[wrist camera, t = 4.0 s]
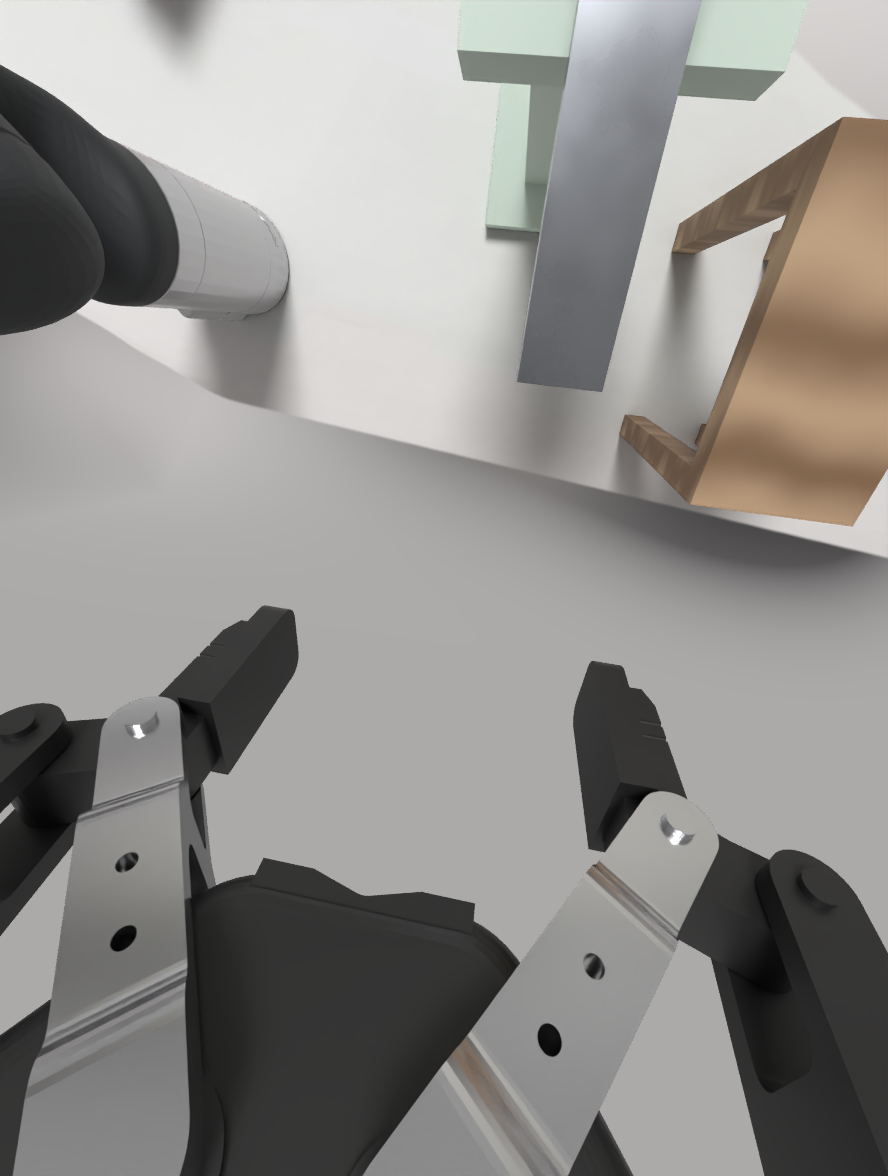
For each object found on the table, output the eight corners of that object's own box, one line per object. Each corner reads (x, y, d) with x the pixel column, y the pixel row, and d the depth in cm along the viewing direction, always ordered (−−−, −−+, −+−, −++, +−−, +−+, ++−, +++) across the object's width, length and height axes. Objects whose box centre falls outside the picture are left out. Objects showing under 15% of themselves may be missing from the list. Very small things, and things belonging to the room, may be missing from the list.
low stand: (714, 445, 48) (852, 526, 28) (619, 433, 49) (690, 504, 29) (797, 234, 39) (1090, 134, 19) (679, 223, 39) (843, 116, 20)
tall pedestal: (615, 246, 41) (819, 74, 13) (485, 234, 42) (426, 47, 14) (652, 91, 36) (1103, -705, 8) (502, 80, 37) (462, -673, 9)
